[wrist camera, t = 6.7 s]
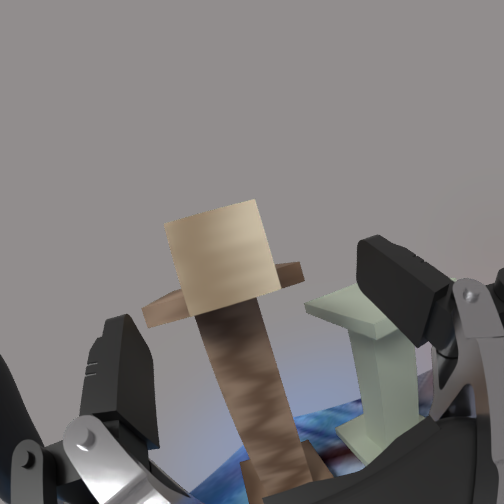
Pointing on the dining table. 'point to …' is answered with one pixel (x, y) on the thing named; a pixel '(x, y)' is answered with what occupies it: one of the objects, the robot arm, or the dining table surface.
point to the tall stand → (251, 389)
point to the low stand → (374, 371)
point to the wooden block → (222, 257)
